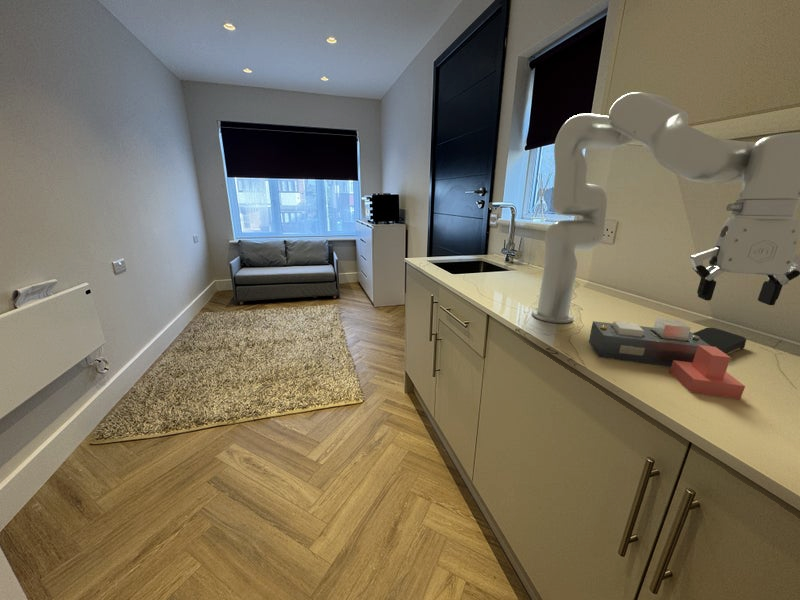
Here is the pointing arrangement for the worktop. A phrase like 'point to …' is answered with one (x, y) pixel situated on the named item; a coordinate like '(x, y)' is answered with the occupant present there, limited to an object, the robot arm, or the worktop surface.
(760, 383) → the worktop surface
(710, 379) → the cap
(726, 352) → the black sponge
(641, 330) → the button
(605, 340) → the panel
